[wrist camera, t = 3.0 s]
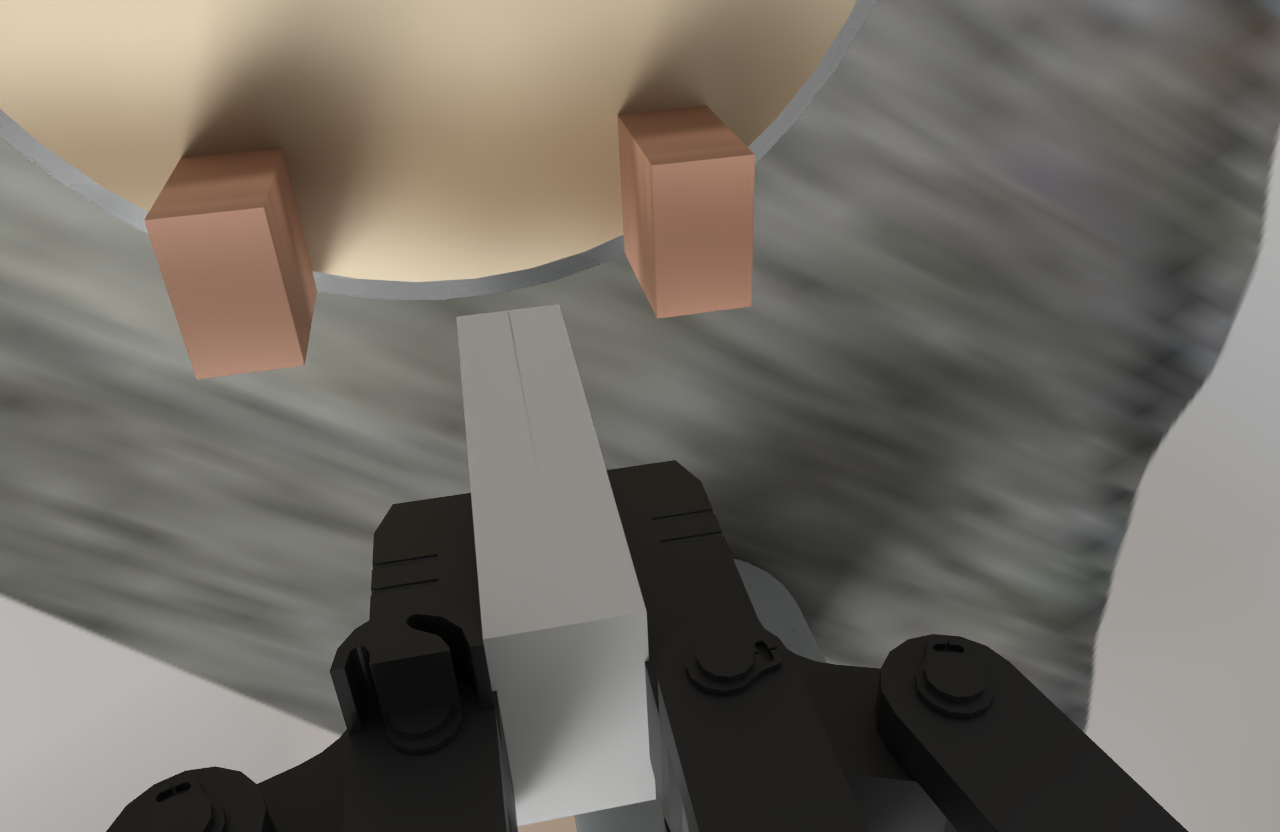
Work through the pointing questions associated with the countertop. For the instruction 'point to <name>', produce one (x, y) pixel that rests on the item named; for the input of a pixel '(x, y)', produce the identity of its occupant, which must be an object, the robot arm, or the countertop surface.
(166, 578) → the countertop surface
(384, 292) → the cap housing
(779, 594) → the water bottle
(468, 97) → the ring nut
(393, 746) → the robot arm
